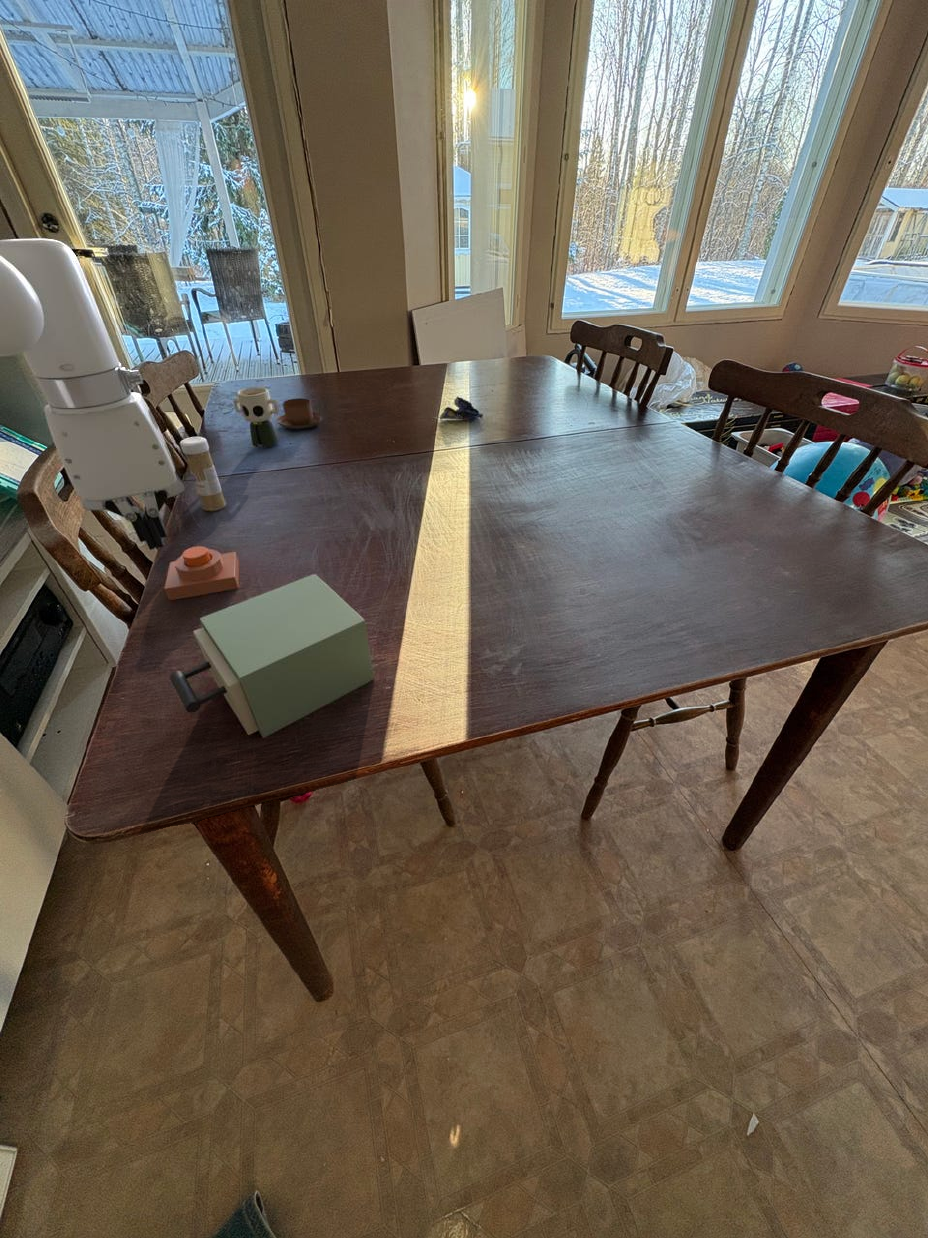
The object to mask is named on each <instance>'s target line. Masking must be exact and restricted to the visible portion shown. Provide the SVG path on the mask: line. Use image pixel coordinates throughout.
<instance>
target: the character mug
mask: <svg viewBox="0 0 928 1238" xmlns="http://www.w3.org/2000/svg"><path fill="white" fill-rule="evenodd" d="M232 400H233V401H232V402H233V405H234V409H235V412H236V413H239V414H240V413H241V414H242V417H243V418H244V419H245V421H247V422H250V423H249V431H250V432H249V433H250V438H251V444H252V446H253V447H255V448H260V446H261V447H262V448H271V447H273V446H275V445H276V444H278V442H279V438H278V435H277V432H276V430H275V427H274V424H273V423H272V422H271V419H272V418H274V414H276V415H277V414H280V409H279V408H280V407H279V403H278V401H277V399H276V398H271V396H270V392H269V389H268V388H265V387H259V386H258V387H247V388H242V389H239V390H238V391H237V398H233V399H232ZM273 407H274V409H273Z"/></svg>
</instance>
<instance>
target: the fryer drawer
mask: <svg viewBox="0 0 928 1238" xmlns="http://www.w3.org/2000/svg"><path fill="white" fill-rule="evenodd" d="M192 631H193V632H192V633H193V635H194V637H195V640H196V642H197V645H198V646H199V648H200V651H201V653H202V655H203V658H204V660H205V662H203V663H202V664H199V665H197V666H195V667H192V668H190V669H187V670H186V671H181V670H175V671H173V672H172V673H170V676H169V679H170V681H171V683H172V686H173V687H174V689H175V692H176V693H177V695H178V697H179V698H180V700H181V702H182V705H183V706H184V708H185V711H186V712H187V713H191V714H192V713H193V714H194V713H196V712H198V711H199V710H200V709H201V706H202V705H203V704H206V703H207V702H210V701H212V700H214V699H216V698H219V697H221V696H222V695H223V697H224V698H225V700H226V702H227V703H228V704H229V706H230V708H231V709H232V711H233V713H234V714H235V716H236V718H237V719H238V721H239V722H240V724H241V726H242V728H243V729H244V730H245V732H246V734H247V735H248V736H250V735H253V734H254V733H256V732H259V731H258V730H259V729H258V726H257V724H256V721H255V719H254V716H253V714H252V711H251V709H250V706H249V704H248V701H247V698H246V696H245V693H244V691H243V688H242V686H241V683H240V681H239V680H238V678H237V677H236V675H235V674H234V672H233V671H232V669H231V668H230V666H229V665H228V663H227V662H226V660H225V659H224V657H223V656H222V654H221V653H220V651H219V650H218V648H217V647H216V645H215V644H214V642H213V641H212V639H211V638H210V636H209V635H208V633H207V632H206V630H205V629H204V627H203V626H202V627H201V628H198V629H195V630H192ZM207 670H209V671H210V674H211V676H212V678H213V680H214V682H215V684H216V685H217V687H218V688H216V689H214V690H212V691H209V692H208V693H205V694H203V695H201V696H199V697H197V695H196V693H195V691H194V690H193V687H192V686H191V683H189V681H188V679H190V678H192V677H194V676H196V675H199V674H201V673H203V672H205V671H207Z"/></svg>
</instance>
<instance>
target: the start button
mask: <svg viewBox="0 0 928 1238" xmlns="http://www.w3.org/2000/svg"><path fill="white" fill-rule="evenodd" d="M207 549H208V548H207V547H206V546H203V545H202V546H201V545H199V546H198V545H197V546H192V547H189V548H187V549H185V550H184V551H183V552H182V554H181V556H182V555H183V558H184V561H185V563H186V565H187V566H188V567H197V566H202V565H204V564H206V563H208V562H209V561H210V560H211V558H210V555H209V552H208V550H207Z"/></svg>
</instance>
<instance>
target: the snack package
mask: <svg viewBox="0 0 928 1238" xmlns="http://www.w3.org/2000/svg"><path fill="white" fill-rule="evenodd" d="M453 404H454V406H455V407H456V408H457V409H453V408H452V407H450V406H447V407H445V409H444V410H443V412H442V413H441V414H440V415H439V416H438V418H439V421H442V420H468V419H472V418H474V417H476V418H478V419H479V418H480V419H483V416H484V414H483V413H481V412H480V411H479V410H478V409H477V408H474V406H473V403H472V402H470V401H469V400H467V399H464V398H462V397H459V396H456V398H455V399H454V400H453Z"/></svg>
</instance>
